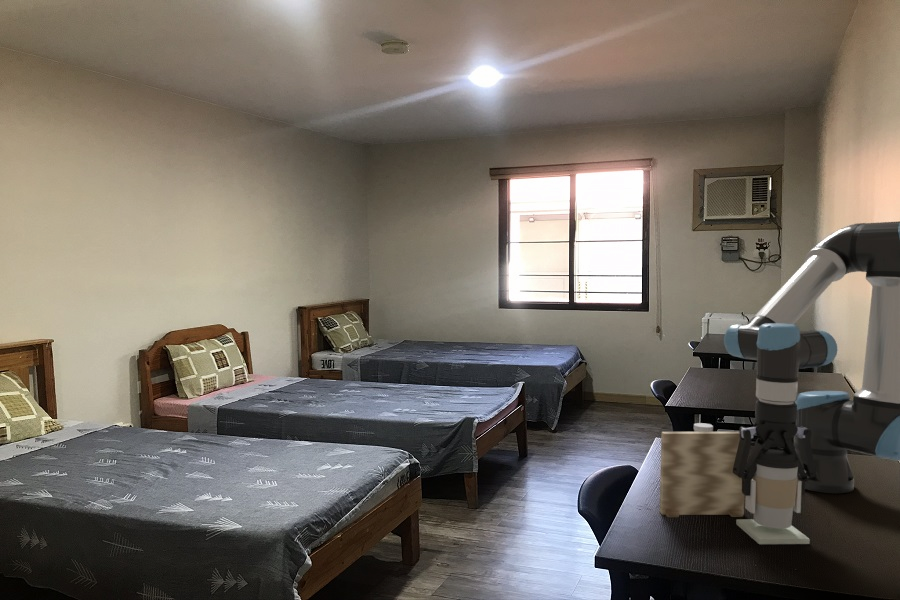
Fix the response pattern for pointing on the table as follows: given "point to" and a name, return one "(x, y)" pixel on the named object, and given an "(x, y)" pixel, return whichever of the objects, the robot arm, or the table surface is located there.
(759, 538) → the mat
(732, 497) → the screen
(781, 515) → the coffee cup
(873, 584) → the table surface
